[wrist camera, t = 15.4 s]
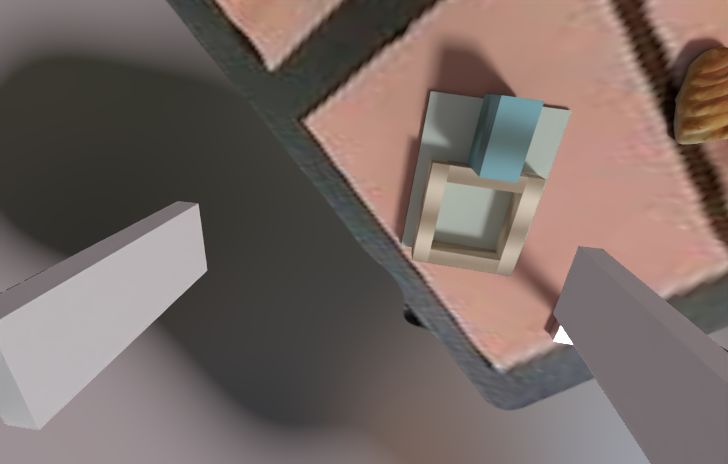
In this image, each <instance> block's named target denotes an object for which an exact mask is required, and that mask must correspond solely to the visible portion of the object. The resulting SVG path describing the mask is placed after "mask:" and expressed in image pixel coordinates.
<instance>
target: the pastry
mask: <svg viewBox="0 0 728 464" xmlns="http://www.w3.org/2000/svg"><path fill="white" fill-rule="evenodd" d="M675 102H676V107H675V116H674V133H675V139H676V142H678V143H680V144H697V143H700V142H713V141H717V140H723V139H728V48H726V47H716V48H712V49H709V50H707V51H705V52H704V53H702V54H701V55H700V56H699V57H697V58H696V59H695V60H694V61H693V62H692V63H691V64H690V66H689V68H688V70H687V72H686V77H685V80H684V82H683V84H682V86H681V89H680V91H679V92H678V94H677V96H676V98H675Z"/></svg>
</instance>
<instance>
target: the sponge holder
mask: <svg viewBox="0 0 728 464" xmlns="http://www.w3.org/2000/svg"><path fill="white" fill-rule="evenodd" d="M543 104H544V101H539V100H532V99H525V98H518V97H511V96H504V95H494V94H485V96H484V100H483V104H482V108H481V111H480V115H479V119H478V123H477V127H476V131H475V135H474V139H473V143H472V146H471V150H470V154H469V158H468V162H467V163H463V162H456V161H449V160H443V159H436V158H431V160H430V165H429V169H428V174H427V179H426V184H425V188H424V193H423V198H422V203H421V207H420V212H419V217H418V222H417V226H416V231H415V236H414V241H413V246H412V260H414V261H420V262H426V263H432V264H438V265H444V266H450V267H456V268H462V269H469V270H475V271H481V272H487V273H493V274H499V275H505V276H512V273H513V270H514V268H515V265H516V262H517V259H518V257H519V254H520V251H521V248H522V245H523V243H524V240H525V237H526V234H527V232H528V229H529V226H530V223H531V221H532V218H533V215H534V212H535V210H536V207H537V204H538V201H539V198H540V196H541V193H542V190H543V187H544V185H545V182H546V179H544V178H543V177H541V176H540V175H538V174H536V173H530V172H523V171H522V168H523V165H524V162H525V159H526V156H527V153H528V150H529V147H530V144H531V141H532V138H533V134H534V131H535V128H536V125H537V122H538V119H539V116H540V113H541V110H542V107H543ZM446 182H449V183H456V184H462V185H469V186H475V187H482V188H488V189H495V190H502V191H508V192H513V195H512V198H511V201H510V204H509V207H508V210H507V213H506V216H505V219H504V222H503V225H502V229H501V232H500V235H499V238H498V241H497V244H496V247H495V250H490V249H484V248H478V247H472V246H465V245H459V244H453V243H447V242H441V241H434V240H433V236H434V232H435V228H436V223H437V219H438V215H439V211H440V206H441V202H442V198H443V194H444V190H445V185H446Z"/></svg>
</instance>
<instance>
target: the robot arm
mask: <svg viewBox="0 0 728 464" xmlns="http://www.w3.org/2000/svg"><path fill="white" fill-rule="evenodd" d="M206 271H207V265H206V258H205V250H204V242H203V235H202V228H201V220H200V213H199V205H198V204H197V203H189V202H180V201H178V202H175V203H174V204H172V205H170V206H168V207H166V208H164V209H162V210H160V211H158V212H156V213H154V214H152V215H151V216H149V217H147V218H145V219H143V220H141V221H139V222H137V223H135V224H133V225H131V226H129V227H127V228H125V229H124V230H122V231H120V232H118V233H116V234H114V235H112V236H110V237H108V238H106V239H104V240H102V241H100V242H99V243H97V244H95V245H93V246H91V247H89V248H87V249H85V250H83V251H81V252H80V253H77V254H76V255H74V256H72V257H70V258H68V259H66V260H64V261H62V262H60V263H58V264H56V265H54V266H53V267H51V268H49V269H46V270H44V271H42V272H40V273H38V274H36V275H34V276H32V277H30V278H28V279H26V280H25V281H24V282H22V283H19V284H17V285H15V286H13V287H11V288H9V289H7V290H6V291H4V292H1V293H0V415H1V417H2V419H3V421H4V423H5V424H6V425H11V426H17V427H23V428H29V429H35V430H40V429H41V428H42V427H43V426H44V425H45V424H46V423H47V422H48V421H49V420H50V419H51V418H52V417H53V416H54V415H55V414H57V412H59V411H60V410H61V409H62V408H63V407H64V406H65V405H66V404H67V403H68V402H69V401H70V400H71V399H72V398H73V397H74V396H75V395H76V394H78V393H79V392H80V391H81V390H82V389H83V388H84V387H85V386H86V385H87V384H88V383H89V382H90V381H91V380H92V379H93V378H94V377H95V376H97V375H98V373H100V372H101V371H102V370H103V369H104V368H105V367H106V366H107V365H108V364H109V363H110V362H111V361H112V360H113V359H114V358H115V357H116V356H117V355H119V354H120V353H121V352H122V351H123V350H124V349H125V348H126V347H127V346H128V345H129V344H130V343H131V342H132V341H133V340H134V339H135V338H136V337H138V336H139V335H140V334H141V333H142V332H143V331H144V330H145V329H146V328H147V327H148V326H149V325H150V324H151V323H152V322H153V321H154V320H155V319H156V318H158V316H160V315H161V314H162V313H163V312H164V311H165V310H166V309H167V308H168V307H169V306H170V305H171V304H172V303H173V302H174V301H175V300H176V299H177V298H179V297H180V296H181V295H182V293H184V292H185V291H186V290H187V289H188V288H189V287H190V286H191V285H192V284H193V283H194V282H195V281H196V280H197V279H198V278H200V276H202V275H203V274H204V273H205V272H206ZM553 315H554V316H555V318H556V319H557V321H558V322H559V324H560V325H561V327H562V328H563V330H564V331H565V333H566V334H567V336H568V338H569V339H570V341H571V342H572V344H573V345H574V347H575V348H576V350H577V351H578V353H579V354H580V356H581V357H582V359H583V361H584V362H585V364H586V365H587V367H588V368H589V370H590V371H591V373H592V374H593V376H594V377H595V379H596V380H597V382H598V383H599V385H600V386H601V388H602V390H603V391H604V393H605V394H606V396H607V397H608V399H609V400H610V402H611V403H612V405H613V406H614V408H615V409H616V411H617V413H618V414H619V416H620V417H621V419H622V420H623V422H624V423H625V425H626V426H627V428H628V429H629V431H630V432H631V434H632V435H633V437H634V438H635V440H636V442H637V443H638V445H639V446H640V448H641V449H642V451H643V452H644V454H645V455H646V457H647V458H648V460H649V461H650V463H651V464H728V350H726V349H724V348H723V347H721V346H719V345H718V344H717V343H716V342H714V341H713V340H712V339H711V338H710V337H708V336H707V335H706V334H705V333H704V332H702V331H701V330H700V329H699V328H698V327H696V326H695V325H694V324H693V323H692V322H690V321H689V320H688V319H687V318H686V317H684V316H683V315H682V314H681V313H679V312H678V311H677V310H676V309H675V308H673V307H672V306H671V305H670V304H669V303H667V302H666V301H665V300H664V299H662V298H661V297H660V296H659V295H658V294H656V293H655V292H654V291H653V290H652V289H650V288H649V287H648V286H647V285H646V284H644V283H643V282H642V281H641V280H639V279H638V278H637V277H636V276H635V275H633V274H632V273H631V272H630V271H629V270H627V269H626V268H625V267H624V266H623V265H621V264H620V263H619V262H618V261H616V260H615V259H614V258H613V257H612V256H610V255H609V254H608V253H607V252H606V251H604V250H603V249H598V248H589V247H580V246H579V247H578V249H577V252H576V255H575V257H574V260H573V262H572V265H571V268H570V270H569V273H568V275H567V278H566V281H565V283H564V286H563V289H562V291H561V294H560V296H559V299H558V302H557V304H556V307H555V310H554V312H553Z"/></svg>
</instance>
